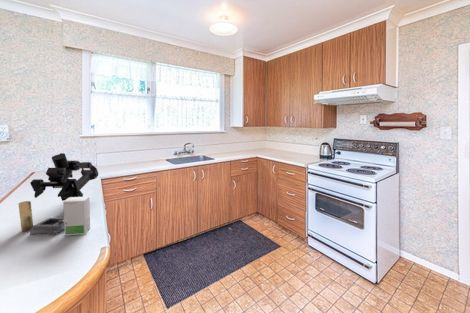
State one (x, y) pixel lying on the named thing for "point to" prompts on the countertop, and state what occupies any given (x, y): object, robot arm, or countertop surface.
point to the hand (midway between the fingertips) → (46, 196)
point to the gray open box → (48, 227)
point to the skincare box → (76, 215)
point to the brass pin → (26, 216)
